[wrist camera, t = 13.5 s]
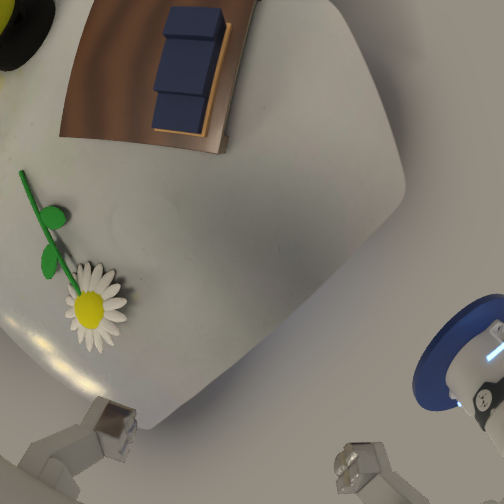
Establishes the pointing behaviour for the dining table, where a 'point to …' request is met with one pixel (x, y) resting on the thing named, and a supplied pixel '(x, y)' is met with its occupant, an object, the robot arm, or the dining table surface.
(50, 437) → the robot arm
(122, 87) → the brown wooden stand
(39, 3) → the lantern
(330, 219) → the dining table surface
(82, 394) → the dining table surface
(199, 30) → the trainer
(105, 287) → the decorative flower
